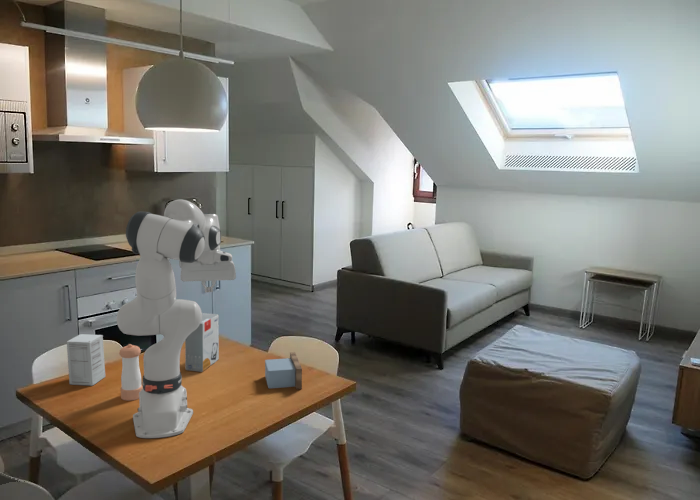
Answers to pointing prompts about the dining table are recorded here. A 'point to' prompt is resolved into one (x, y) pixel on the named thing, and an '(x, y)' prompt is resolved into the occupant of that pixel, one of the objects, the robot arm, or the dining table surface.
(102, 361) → the supplement box
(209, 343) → the hard drive box
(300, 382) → the board
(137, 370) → the pepper shaker
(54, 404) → the dining table surface
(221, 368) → the dining table surface
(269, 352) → the dining table surface
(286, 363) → the slate block
